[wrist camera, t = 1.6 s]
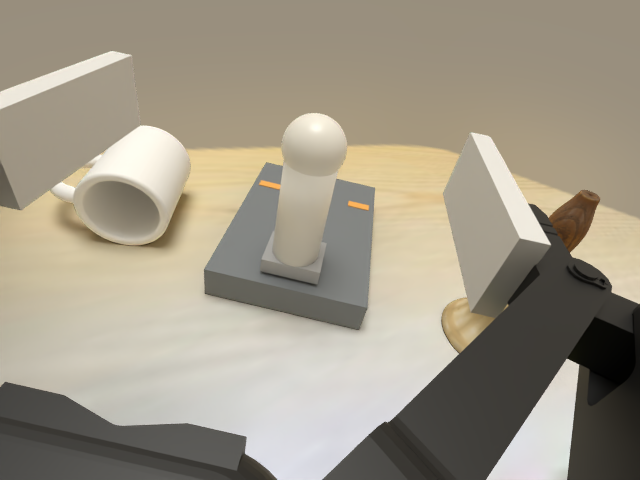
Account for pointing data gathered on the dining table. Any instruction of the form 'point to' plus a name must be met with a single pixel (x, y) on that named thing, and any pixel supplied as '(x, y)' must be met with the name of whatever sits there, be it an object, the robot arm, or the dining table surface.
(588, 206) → the hand bell
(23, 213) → the dining table surface
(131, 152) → the mug
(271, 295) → the console
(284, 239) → the lever
